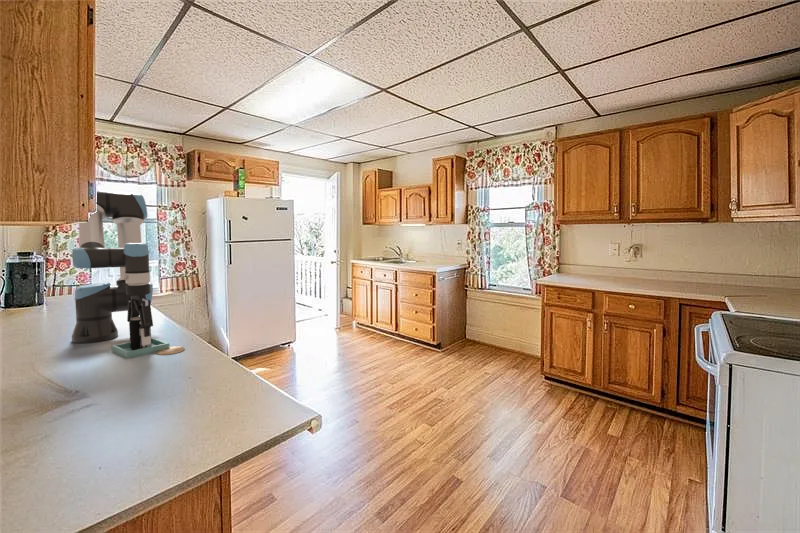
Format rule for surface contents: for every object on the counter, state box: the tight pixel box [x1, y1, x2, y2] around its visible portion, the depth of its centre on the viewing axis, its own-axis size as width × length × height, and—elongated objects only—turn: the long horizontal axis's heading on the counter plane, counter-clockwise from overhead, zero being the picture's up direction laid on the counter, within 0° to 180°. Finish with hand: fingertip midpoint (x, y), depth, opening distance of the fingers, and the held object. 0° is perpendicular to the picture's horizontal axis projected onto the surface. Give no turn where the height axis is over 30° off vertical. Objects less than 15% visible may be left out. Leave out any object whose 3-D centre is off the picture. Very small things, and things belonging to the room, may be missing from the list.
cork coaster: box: [155, 345, 185, 356], centre depth 140 cm, size 9×9×1 cm
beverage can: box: [128, 316, 152, 350], centre depth 140 cm, size 7×7×12 cm
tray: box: [111, 337, 171, 359], centre depth 140 cm, size 14×14×2 cm
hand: (140, 342), depth 140 cm, fingers open, 9 cm apart
